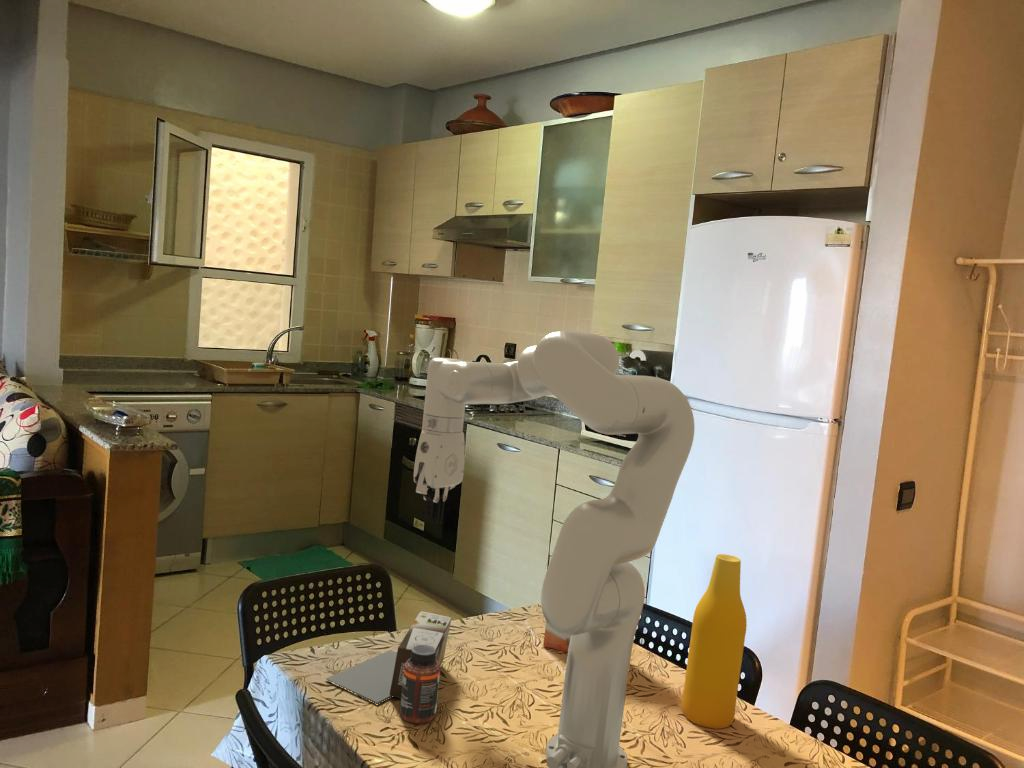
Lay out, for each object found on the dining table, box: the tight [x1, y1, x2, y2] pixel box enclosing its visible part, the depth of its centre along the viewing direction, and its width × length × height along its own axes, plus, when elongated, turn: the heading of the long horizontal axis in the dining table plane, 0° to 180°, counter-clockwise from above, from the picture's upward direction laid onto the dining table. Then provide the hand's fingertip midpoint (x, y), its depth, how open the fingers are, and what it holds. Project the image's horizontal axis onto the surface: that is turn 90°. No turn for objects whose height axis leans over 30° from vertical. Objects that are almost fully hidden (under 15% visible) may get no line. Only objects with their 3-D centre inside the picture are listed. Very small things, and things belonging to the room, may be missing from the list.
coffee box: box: [390, 611, 452, 699], centre depth 141 cm, size 9×6×16 cm
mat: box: [325, 649, 397, 705], centre depth 142 cm, size 17×12×1 cm
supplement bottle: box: [399, 645, 441, 725], centre depth 129 cm, size 6×6×11 cm
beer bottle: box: [680, 553, 748, 730], centre depth 139 cm, size 9×9×29 cm
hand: (432, 521), depth 148 cm, fingers closed
